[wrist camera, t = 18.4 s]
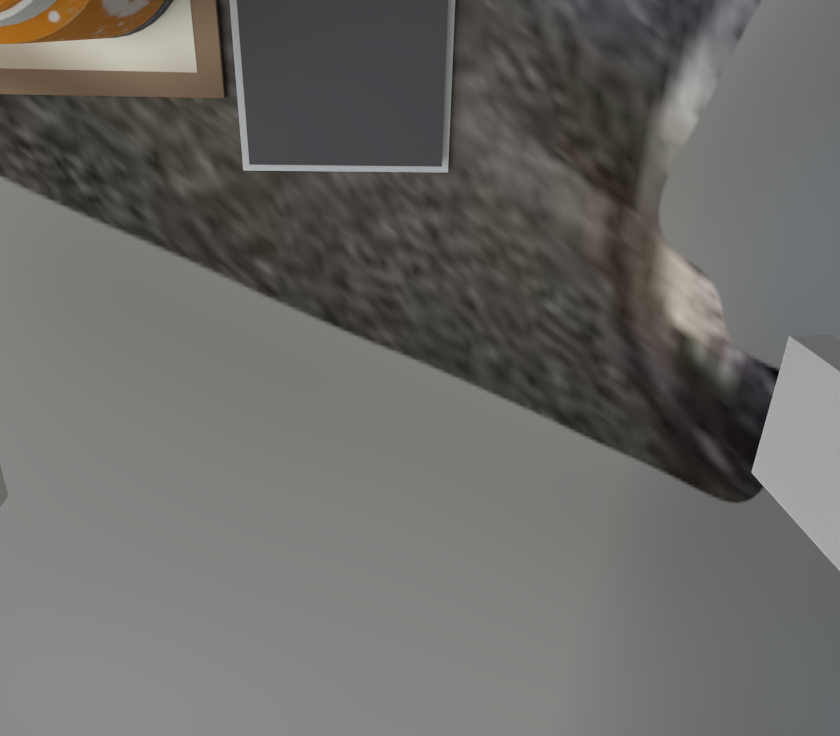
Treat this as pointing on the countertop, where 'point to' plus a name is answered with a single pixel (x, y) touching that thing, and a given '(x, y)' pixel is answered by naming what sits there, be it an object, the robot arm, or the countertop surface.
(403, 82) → the ink pad
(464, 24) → the countertop surface
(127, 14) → the canister
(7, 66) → the box board
